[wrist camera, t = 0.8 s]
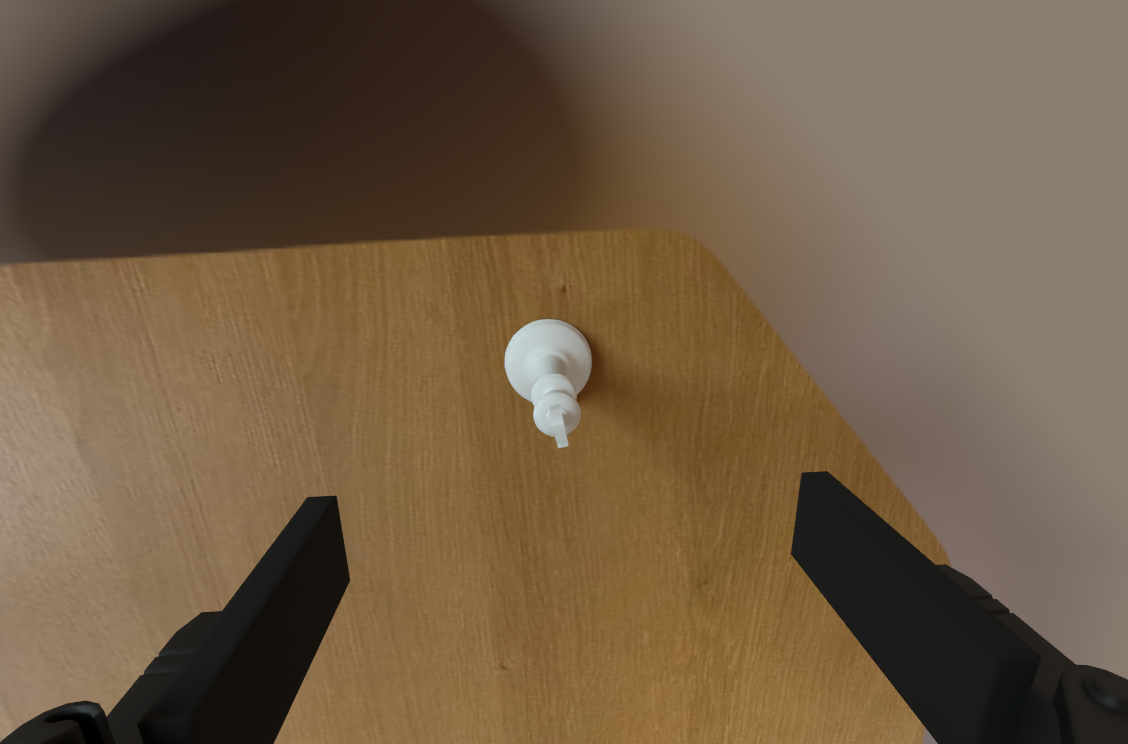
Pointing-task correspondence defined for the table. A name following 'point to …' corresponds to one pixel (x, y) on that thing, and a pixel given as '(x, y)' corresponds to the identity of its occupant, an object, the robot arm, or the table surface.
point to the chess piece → (550, 373)
